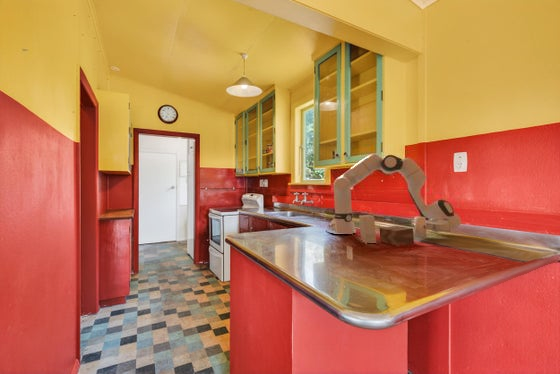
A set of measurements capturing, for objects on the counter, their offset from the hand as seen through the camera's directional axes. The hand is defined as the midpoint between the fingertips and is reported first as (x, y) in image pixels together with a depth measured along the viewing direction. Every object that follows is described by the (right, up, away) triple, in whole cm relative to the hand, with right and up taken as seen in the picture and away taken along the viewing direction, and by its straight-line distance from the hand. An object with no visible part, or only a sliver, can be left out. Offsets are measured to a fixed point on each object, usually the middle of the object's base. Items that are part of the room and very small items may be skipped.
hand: (419, 226), depth 141 cm
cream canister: (+1, -6, 0) cm, 6 cm away
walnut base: (-13, -9, -1) cm, 16 cm away
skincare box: (-28, -10, +2) cm, 30 cm away
